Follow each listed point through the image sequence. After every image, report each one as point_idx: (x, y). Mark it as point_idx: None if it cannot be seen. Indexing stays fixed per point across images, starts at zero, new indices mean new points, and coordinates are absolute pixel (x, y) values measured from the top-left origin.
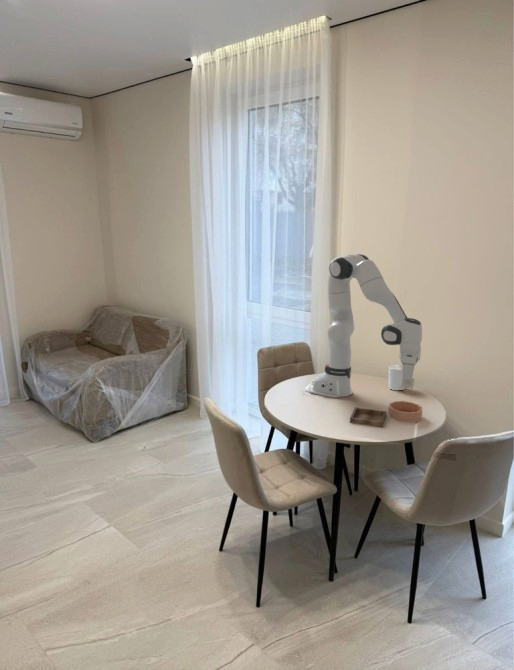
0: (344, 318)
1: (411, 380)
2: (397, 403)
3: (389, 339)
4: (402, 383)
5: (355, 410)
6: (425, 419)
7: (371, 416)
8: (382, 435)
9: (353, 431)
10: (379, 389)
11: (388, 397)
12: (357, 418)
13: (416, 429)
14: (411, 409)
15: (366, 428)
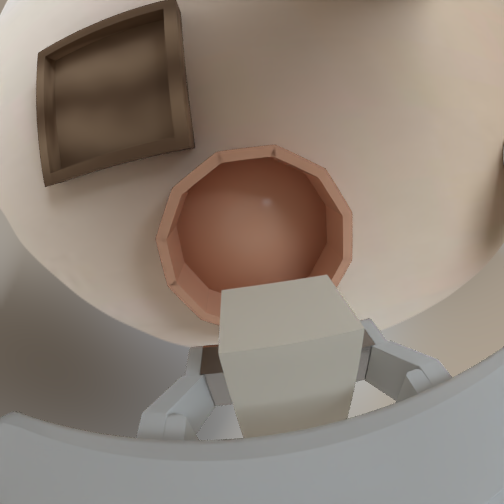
0: None
1: (265, 427)
2: (321, 187)
3: None
4: (222, 327)
5: (128, 16)
6: None
7: (144, 89)
8: (25, 203)
9: (12, 105)
10: (494, 98)
11: (454, 127)
12: (41, 75)
13: (140, 300)
14: (325, 254)
15: None
